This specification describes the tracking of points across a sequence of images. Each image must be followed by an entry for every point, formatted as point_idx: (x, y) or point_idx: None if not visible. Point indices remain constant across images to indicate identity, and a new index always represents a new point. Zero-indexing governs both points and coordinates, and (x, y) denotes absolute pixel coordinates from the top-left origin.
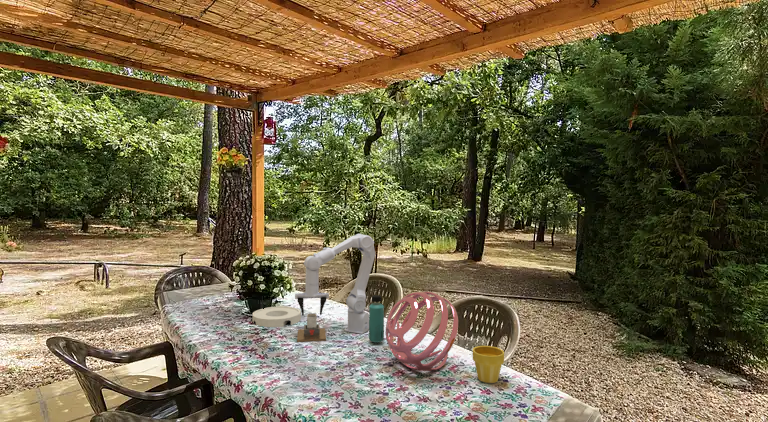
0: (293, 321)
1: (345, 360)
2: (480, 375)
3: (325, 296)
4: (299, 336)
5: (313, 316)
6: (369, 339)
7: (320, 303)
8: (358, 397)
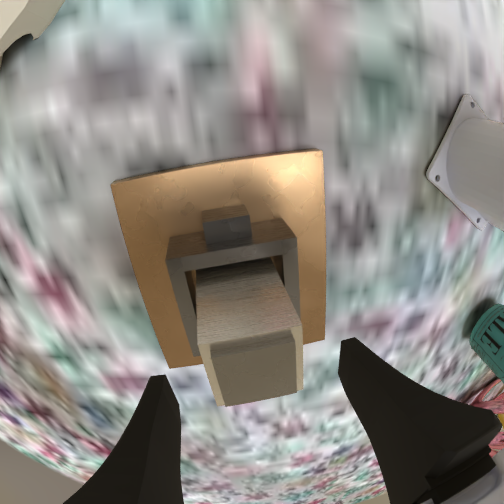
0: (45, 13)
1: (358, 439)
2: (500, 420)
3: (477, 489)
4: (165, 327)
5: (275, 391)
6: (471, 339)
7: (394, 438)
8: (343, 497)
